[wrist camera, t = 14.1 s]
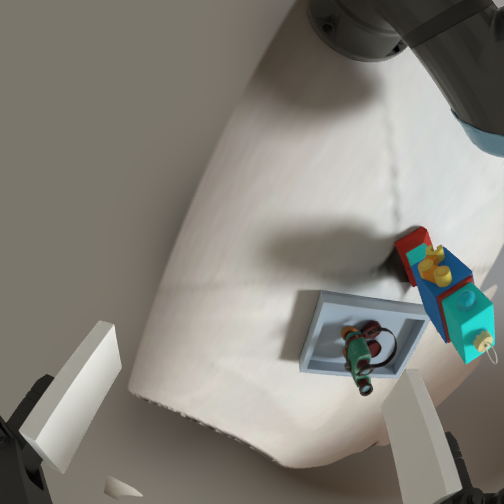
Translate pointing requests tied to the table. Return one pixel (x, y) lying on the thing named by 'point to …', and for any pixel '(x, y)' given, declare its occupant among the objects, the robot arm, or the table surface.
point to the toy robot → (449, 295)
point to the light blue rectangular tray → (358, 315)
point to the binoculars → (363, 353)
